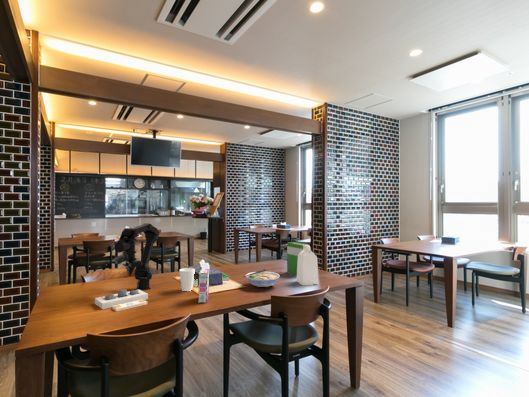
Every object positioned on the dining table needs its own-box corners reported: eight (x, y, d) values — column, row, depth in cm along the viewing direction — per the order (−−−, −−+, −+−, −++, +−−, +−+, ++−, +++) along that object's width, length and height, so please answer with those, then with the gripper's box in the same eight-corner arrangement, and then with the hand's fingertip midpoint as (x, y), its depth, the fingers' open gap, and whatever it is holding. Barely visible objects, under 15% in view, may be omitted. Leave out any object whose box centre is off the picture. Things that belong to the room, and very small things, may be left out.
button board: (139, 294, 181) (139, 289, 181) (148, 299, 173) (148, 293, 173) (94, 303, 164) (94, 298, 164) (102, 309, 156) (102, 303, 156)
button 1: (112, 300, 167) (112, 294, 167) (115, 302, 164) (115, 296, 164) (103, 302, 164) (103, 295, 164) (106, 304, 161) (106, 297, 161)
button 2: (136, 295, 176) (136, 289, 176) (139, 297, 173) (139, 291, 173) (128, 297, 173) (128, 291, 173) (131, 299, 170) (131, 292, 170)
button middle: (124, 295, 171) (124, 288, 171) (127, 296, 168) (127, 290, 168) (116, 296, 168) (116, 290, 168) (119, 298, 165) (119, 292, 165)
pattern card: (142, 301, 168) (142, 298, 168) (147, 304, 164) (147, 301, 164) (111, 308, 157) (112, 305, 157) (116, 311, 153) (116, 308, 153)
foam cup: (197, 289, 193) (197, 268, 193) (189, 293, 184) (189, 271, 185) (184, 287, 196) (184, 267, 196) (176, 291, 188) (176, 270, 188)
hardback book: (309, 275, 232) (309, 244, 233) (301, 277, 228) (302, 244, 228) (294, 271, 247) (294, 241, 247) (287, 272, 243) (287, 242, 243)
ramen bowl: (264, 294, 184) (265, 280, 184) (236, 287, 198) (237, 274, 198) (287, 285, 204) (287, 273, 204) (260, 279, 218) (260, 268, 218)
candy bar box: (207, 303, 167) (207, 273, 167) (198, 303, 166) (198, 273, 167) (209, 296, 178) (209, 268, 178) (200, 297, 177) (200, 268, 178)
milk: (318, 284, 207) (318, 246, 207) (302, 285, 204) (302, 246, 204) (311, 280, 219) (311, 244, 219) (296, 281, 216) (296, 244, 216)
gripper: (109, 249, 179) (109, 275, 179) (122, 253, 166) (122, 281, 166) (128, 247, 187) (128, 272, 187) (142, 250, 174) (142, 278, 174)
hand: (129, 276), depth 178 cm, fingers closed
